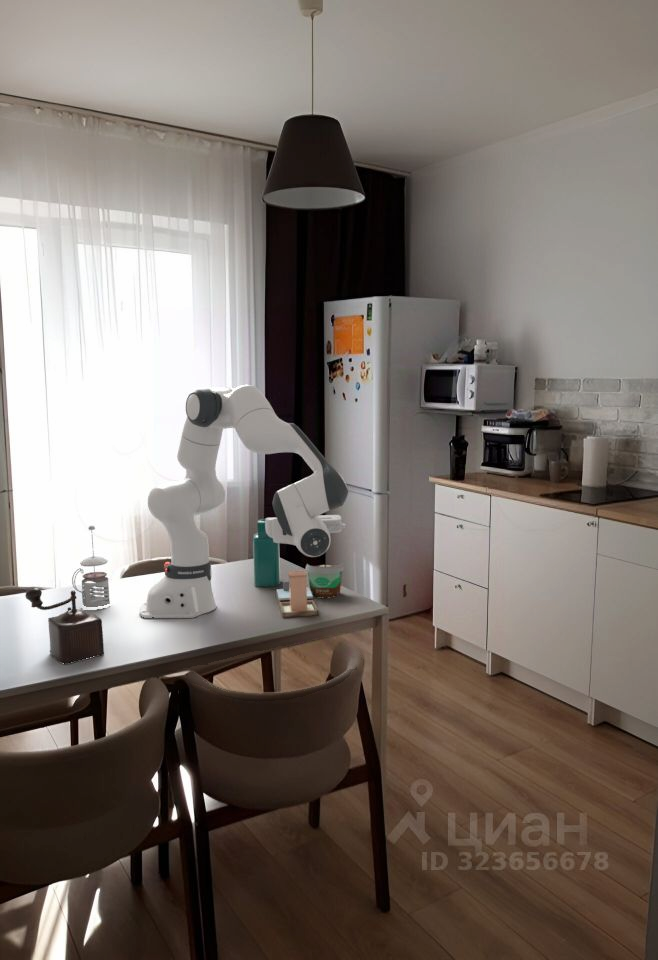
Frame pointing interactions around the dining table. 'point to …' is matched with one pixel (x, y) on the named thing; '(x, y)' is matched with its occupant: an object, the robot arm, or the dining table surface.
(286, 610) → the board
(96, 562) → the french press
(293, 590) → the canister
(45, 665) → the dining table surface
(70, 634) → the manual coffee grinder
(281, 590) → the cover
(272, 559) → the green bottle
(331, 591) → the food container
